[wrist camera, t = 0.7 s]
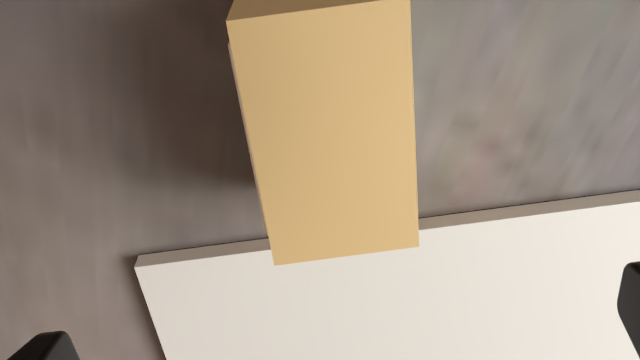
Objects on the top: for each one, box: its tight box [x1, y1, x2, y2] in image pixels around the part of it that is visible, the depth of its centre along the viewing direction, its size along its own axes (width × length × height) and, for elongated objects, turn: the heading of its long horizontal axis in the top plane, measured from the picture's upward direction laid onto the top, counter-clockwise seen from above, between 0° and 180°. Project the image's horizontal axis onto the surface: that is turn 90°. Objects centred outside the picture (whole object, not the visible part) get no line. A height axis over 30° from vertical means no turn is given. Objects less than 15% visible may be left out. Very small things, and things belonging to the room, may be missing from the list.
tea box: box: [226, 0, 419, 266], centre depth 17 cm, size 5×8×5 cm, turn 7°
